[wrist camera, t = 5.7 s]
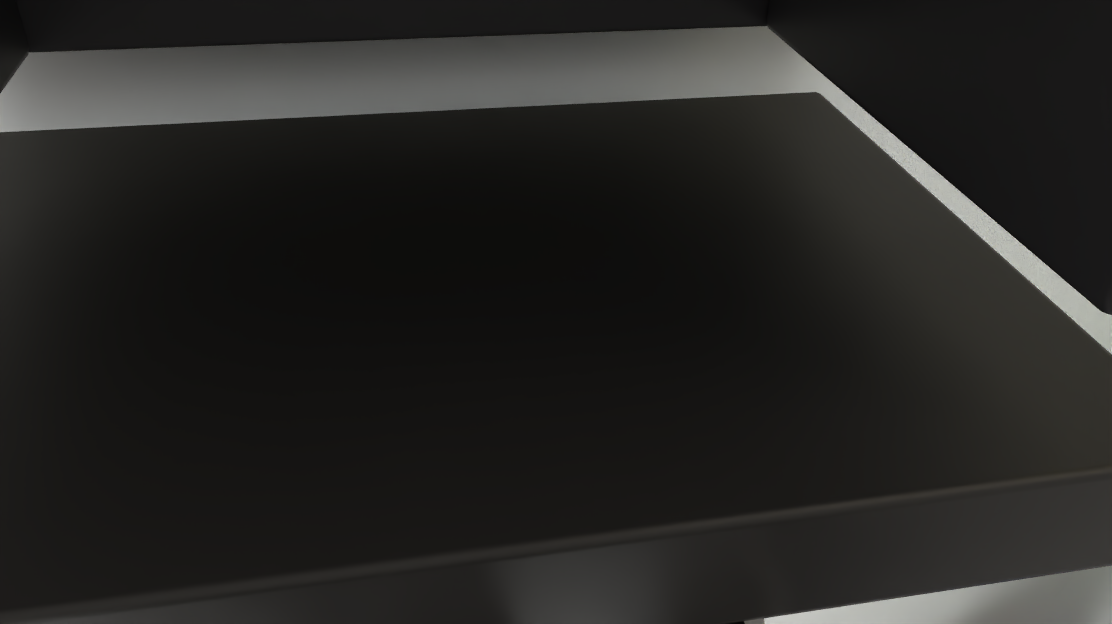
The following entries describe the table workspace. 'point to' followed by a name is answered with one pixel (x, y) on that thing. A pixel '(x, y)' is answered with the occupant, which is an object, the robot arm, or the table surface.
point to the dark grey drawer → (557, 330)
